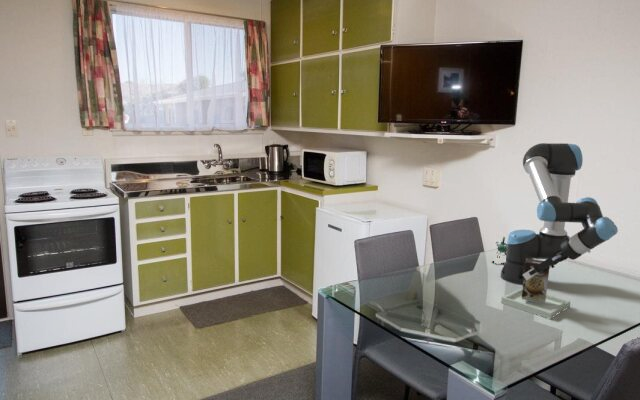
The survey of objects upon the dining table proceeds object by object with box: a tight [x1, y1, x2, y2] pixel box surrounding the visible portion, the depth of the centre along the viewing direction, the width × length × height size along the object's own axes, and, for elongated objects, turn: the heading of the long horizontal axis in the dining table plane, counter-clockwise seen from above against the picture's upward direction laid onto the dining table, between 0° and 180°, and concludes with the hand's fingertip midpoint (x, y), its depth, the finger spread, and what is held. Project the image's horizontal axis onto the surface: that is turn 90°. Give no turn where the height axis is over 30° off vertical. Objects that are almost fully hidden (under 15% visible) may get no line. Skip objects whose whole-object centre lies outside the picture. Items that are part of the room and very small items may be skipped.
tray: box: [500, 286, 571, 320], centre depth 190 cm, size 20×18×2 cm
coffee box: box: [521, 258, 551, 303], centre depth 189 cm, size 9×6×16 cm
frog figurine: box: [495, 236, 507, 258], centre depth 244 cm, size 10×18×15 cm, turn 126°
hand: (530, 274), depth 190 cm, fingers open, 9 cm apart
